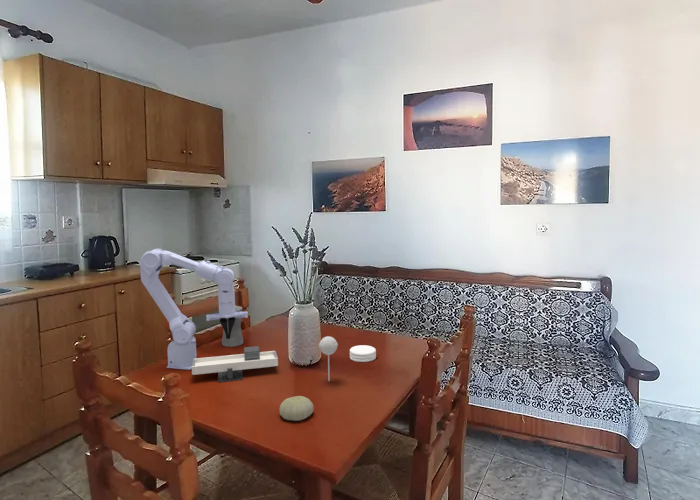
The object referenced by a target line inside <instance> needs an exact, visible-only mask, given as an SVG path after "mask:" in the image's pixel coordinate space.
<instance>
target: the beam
mask: <svg viewBox="0 0 700 500" xmlns="http://www.w3.org/2000/svg"><path fill="white" fill-rule="evenodd" d="M278 366H279V358H278V355H277V351H276V350H270V351H260V360H250V361H245V359H244V353H240V354H237V353H236V354H230V355H219V356H209V357H208V356H206V357H197V358H196V359H193V363H192V369H191V375H192V376H193V375H194V376H195V375H204V374H205V375H206V374H212V373H213V374H216V373H218V372H225V371H227V369H229V368H232V371H234V370H242V371H243V370H244V371H245V370H252V369H262V368H270V367H278Z"/></svg>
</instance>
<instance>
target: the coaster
mask: <svg viewBox="0 0 700 500" xmlns="http://www.w3.org/2000/svg"><path fill="white" fill-rule="evenodd" d="M376 358H377V349H376V348H375V347H373V346H371V345H364V344H362V345H361V344H360V345H354V346H352V347H351V348H350V349H349V359H350V360H352V361H354V362H358V363H368V362H372V361H374V360H376Z"/></svg>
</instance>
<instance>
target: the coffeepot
mask: <svg viewBox="0 0 700 500" xmlns="http://www.w3.org/2000/svg"><path fill="white" fill-rule="evenodd" d="M235 312H243V307H242V306H240V305H239V306H238V305H235ZM242 319H243V318H235V323H234V325H233V328H232V331H231V336H230V339H226V334H225V331H224V329H223V328H222V330H223V331H222V338H221V345H222V346H223V347H226V348H233V347H239V346H241V345H243V344H244V343H245V341H244V338H243V332H242V328H241V324H242ZM227 329H228V319H227Z"/></svg>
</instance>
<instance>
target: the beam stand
mask: <svg viewBox="0 0 700 500" xmlns="http://www.w3.org/2000/svg"><path fill="white" fill-rule="evenodd" d="M243 377H244V376H243V370H234V371H232V368H229V369H227V371H225V372H217V383H224V382H225V383H228V382H234V381H242V380H243V381H244V379H243Z"/></svg>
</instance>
